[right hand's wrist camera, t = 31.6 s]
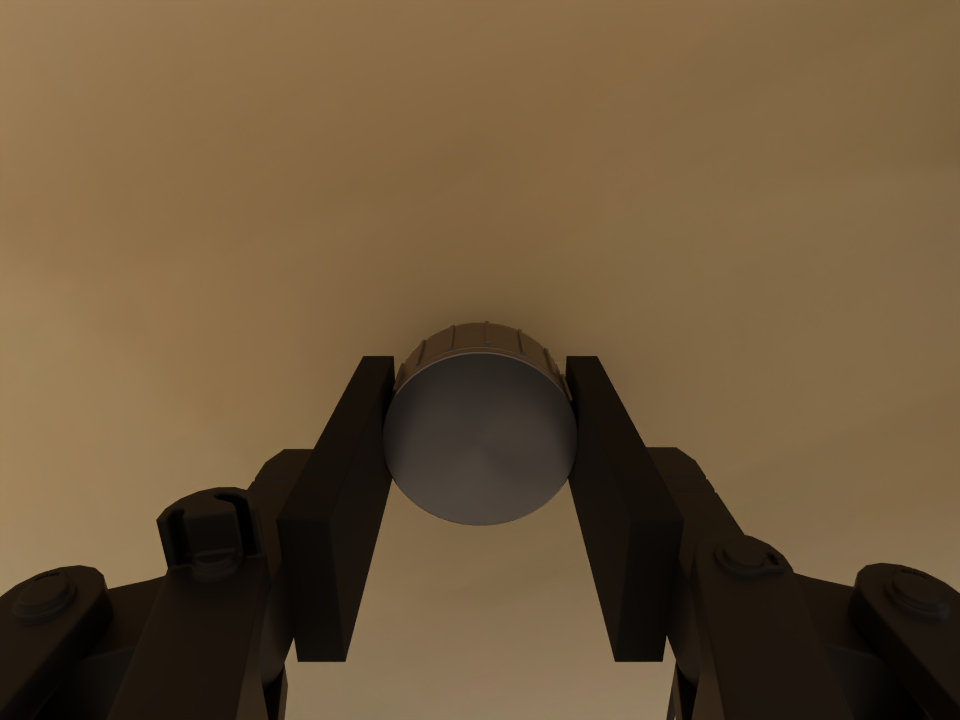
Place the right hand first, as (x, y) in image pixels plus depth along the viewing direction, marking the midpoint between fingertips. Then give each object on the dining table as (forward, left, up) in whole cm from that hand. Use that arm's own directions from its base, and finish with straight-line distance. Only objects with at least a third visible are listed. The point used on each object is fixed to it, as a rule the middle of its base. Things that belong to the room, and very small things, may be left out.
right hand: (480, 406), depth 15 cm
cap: (0, 0, +2) cm, 2 cm away
